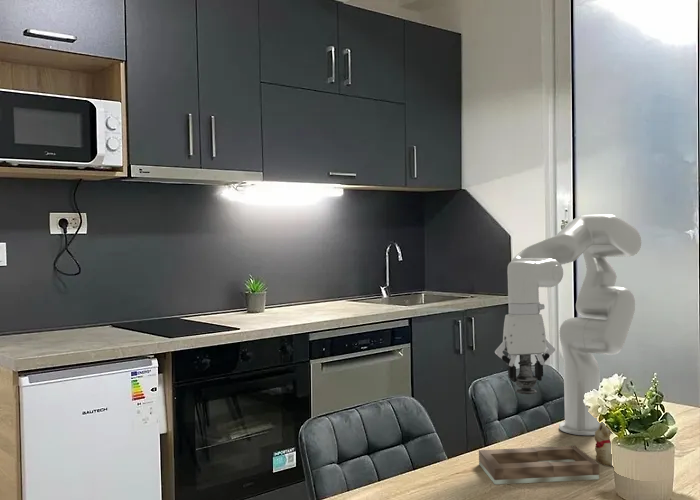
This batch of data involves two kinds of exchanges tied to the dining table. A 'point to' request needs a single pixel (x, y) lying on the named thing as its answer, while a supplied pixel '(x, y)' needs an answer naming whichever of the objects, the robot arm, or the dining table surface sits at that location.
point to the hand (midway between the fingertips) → (525, 379)
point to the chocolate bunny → (603, 445)
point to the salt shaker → (525, 376)
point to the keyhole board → (538, 465)
